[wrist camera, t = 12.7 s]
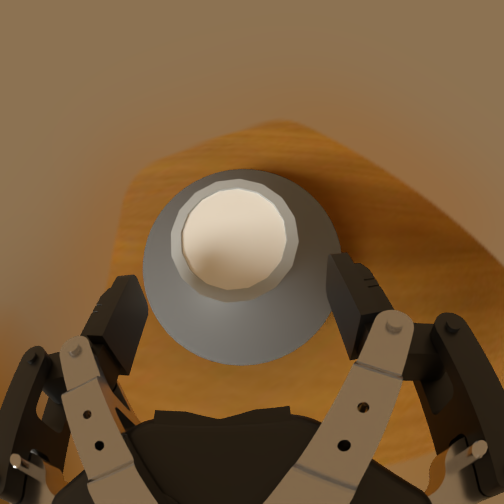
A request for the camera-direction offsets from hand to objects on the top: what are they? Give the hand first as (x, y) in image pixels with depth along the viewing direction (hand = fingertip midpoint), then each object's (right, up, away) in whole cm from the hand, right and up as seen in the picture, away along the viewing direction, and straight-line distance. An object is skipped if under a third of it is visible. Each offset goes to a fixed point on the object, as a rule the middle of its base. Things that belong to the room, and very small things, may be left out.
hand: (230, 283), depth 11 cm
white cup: (0, 0, +10) cm, 10 cm away
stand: (0, 0, +14) cm, 14 cm away
